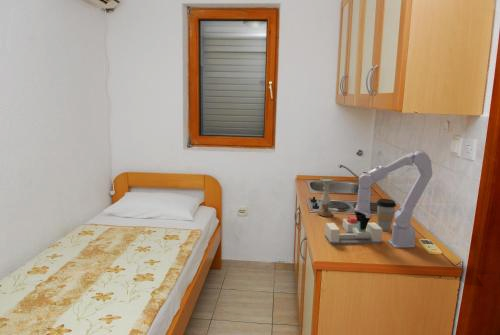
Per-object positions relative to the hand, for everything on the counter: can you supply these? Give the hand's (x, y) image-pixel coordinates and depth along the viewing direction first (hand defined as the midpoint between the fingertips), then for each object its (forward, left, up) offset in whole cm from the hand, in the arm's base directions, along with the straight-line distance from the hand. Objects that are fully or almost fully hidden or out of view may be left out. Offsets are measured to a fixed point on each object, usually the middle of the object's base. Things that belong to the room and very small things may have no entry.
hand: (361, 227), depth 185 cm
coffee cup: (-17, -14, -6) cm, 23 cm away
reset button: (0, -12, -2) cm, 12 cm away
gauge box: (0, -12, -6) cm, 13 cm away
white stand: (+4, 0, -6) cm, 7 cm away
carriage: (0, 0, -4) cm, 4 cm away
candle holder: (+7, -39, -6) cm, 40 cm away
